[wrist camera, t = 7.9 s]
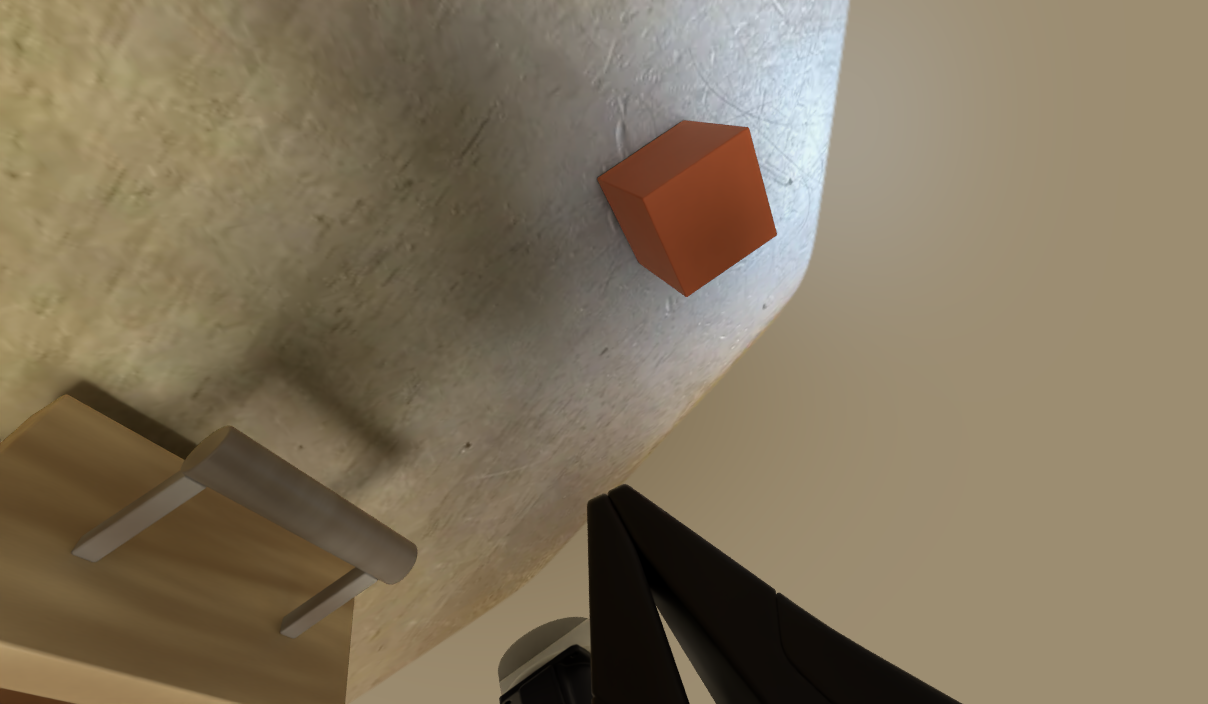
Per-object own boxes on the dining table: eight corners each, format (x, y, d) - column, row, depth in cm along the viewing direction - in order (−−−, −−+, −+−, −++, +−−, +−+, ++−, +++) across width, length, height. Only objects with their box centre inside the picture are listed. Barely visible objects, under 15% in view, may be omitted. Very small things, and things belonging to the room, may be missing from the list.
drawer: (204, 302, 14) (73, 445, 8) (448, 494, 20) (467, 644, 15) (-354, 667, 13) (-914, 1097, 7) (90, 742, 20) (-31, 998, 14)
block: (715, 211, 20) (778, 235, 16) (638, 263, 19) (686, 298, 16) (683, 119, 17) (749, 126, 14) (595, 178, 17) (642, 198, 14)
